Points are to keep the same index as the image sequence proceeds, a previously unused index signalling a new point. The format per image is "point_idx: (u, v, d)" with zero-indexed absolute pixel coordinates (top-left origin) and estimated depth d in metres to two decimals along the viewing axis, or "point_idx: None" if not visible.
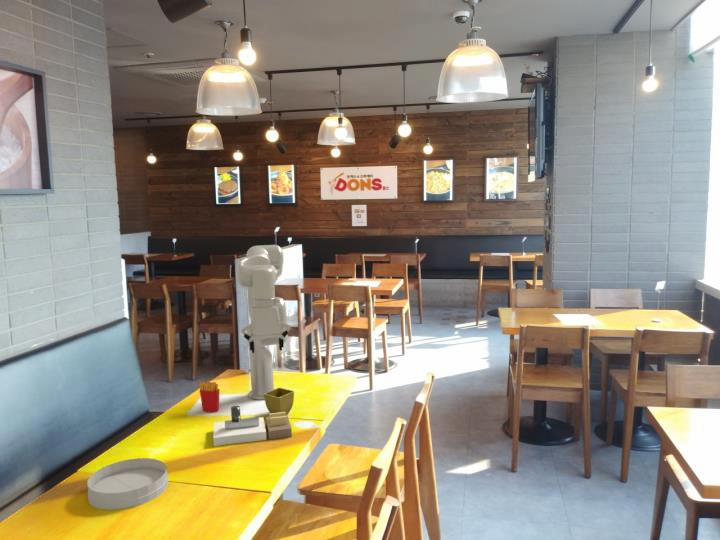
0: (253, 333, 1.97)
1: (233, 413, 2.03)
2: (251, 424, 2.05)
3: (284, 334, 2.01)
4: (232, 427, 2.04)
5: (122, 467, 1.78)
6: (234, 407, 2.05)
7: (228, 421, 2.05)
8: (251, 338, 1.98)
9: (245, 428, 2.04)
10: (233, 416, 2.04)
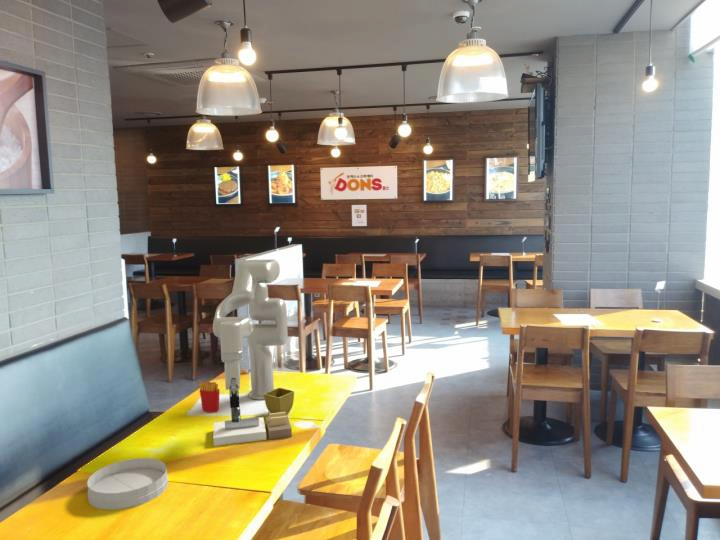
0: (239, 386, 1.99)
1: (233, 413, 2.03)
2: (251, 424, 2.05)
3: None
4: (232, 427, 2.04)
5: (122, 467, 1.78)
6: None
7: (228, 421, 2.05)
8: (238, 392, 1.99)
9: (245, 428, 2.04)
10: (233, 416, 2.04)
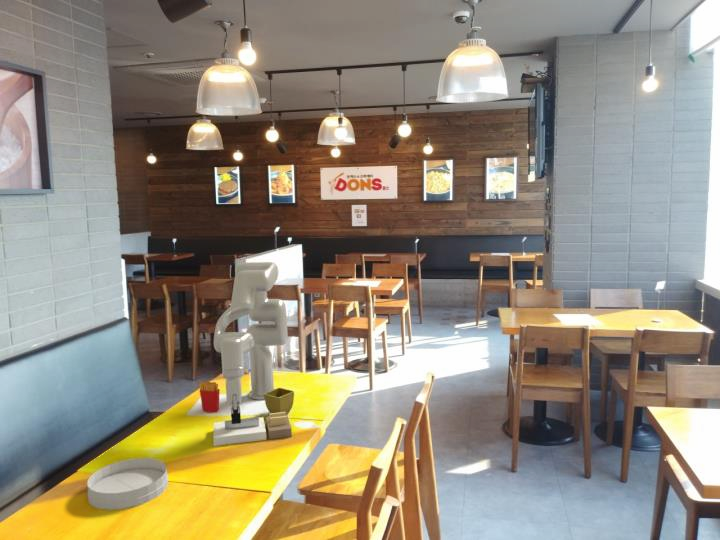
0: (240, 402, 2.00)
1: None
2: (251, 424, 2.05)
3: None
4: (232, 427, 2.04)
5: (122, 467, 1.78)
6: None
7: (228, 421, 2.05)
8: None
9: (245, 428, 2.04)
10: None
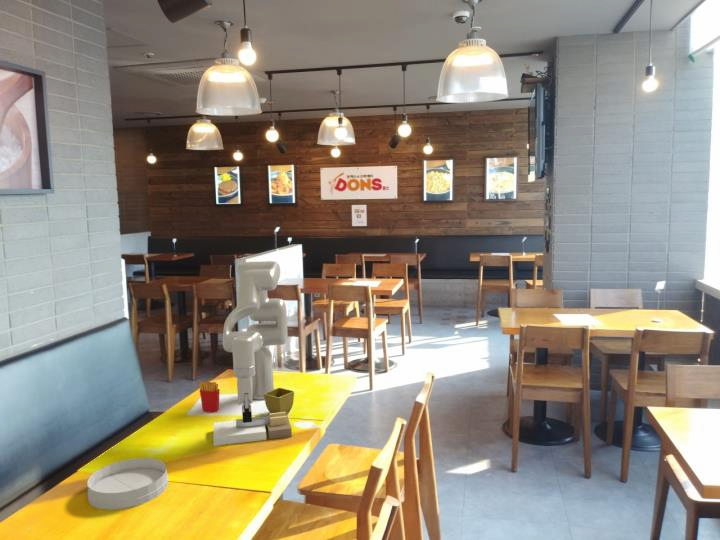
0: None
1: None
2: (262, 423, 2.06)
3: None
4: (244, 426, 2.05)
5: (122, 467, 1.78)
6: None
7: (239, 420, 2.06)
8: None
9: (245, 428, 2.04)
10: None
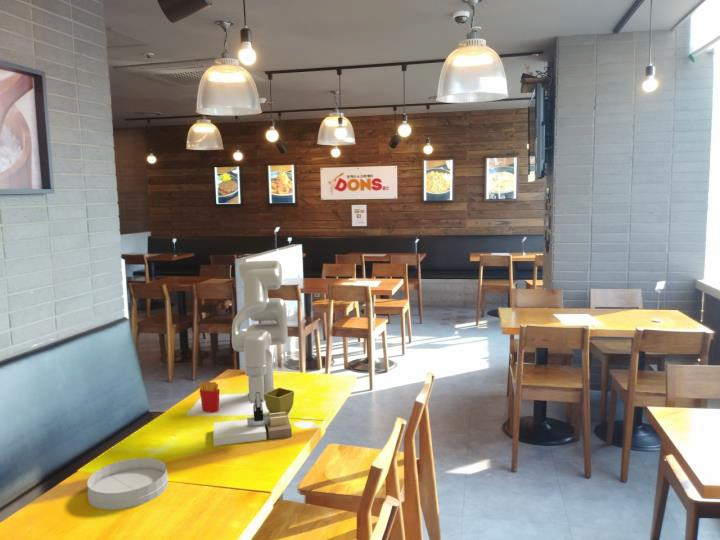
0: (263, 400, 2.02)
1: None
2: None
3: None
4: (255, 425, 2.06)
5: (122, 467, 1.78)
6: None
7: (250, 418, 2.07)
8: (261, 406, 2.05)
9: (245, 428, 2.04)
10: None
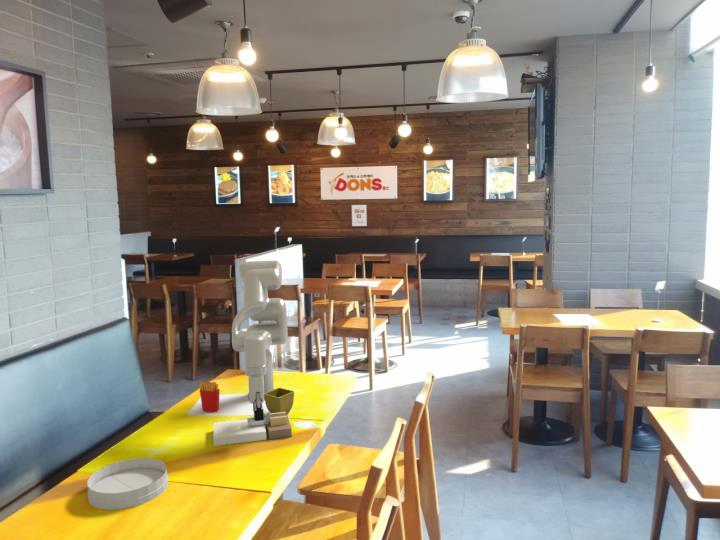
0: (263, 400, 2.02)
1: None
2: None
3: None
4: (255, 425, 2.06)
5: (122, 467, 1.78)
6: None
7: (251, 418, 2.07)
8: (262, 406, 2.02)
9: (245, 428, 2.04)
10: None
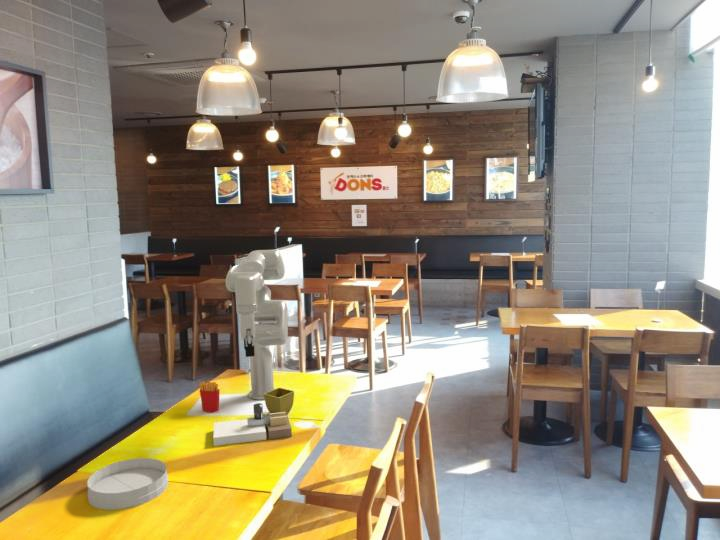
0: (254, 336, 2.11)
1: (256, 410, 2.05)
2: None
3: None
4: (255, 425, 2.06)
5: (122, 467, 1.78)
6: (257, 405, 2.06)
7: (251, 418, 2.07)
8: (252, 342, 2.10)
9: (245, 428, 2.04)
10: (256, 413, 2.05)
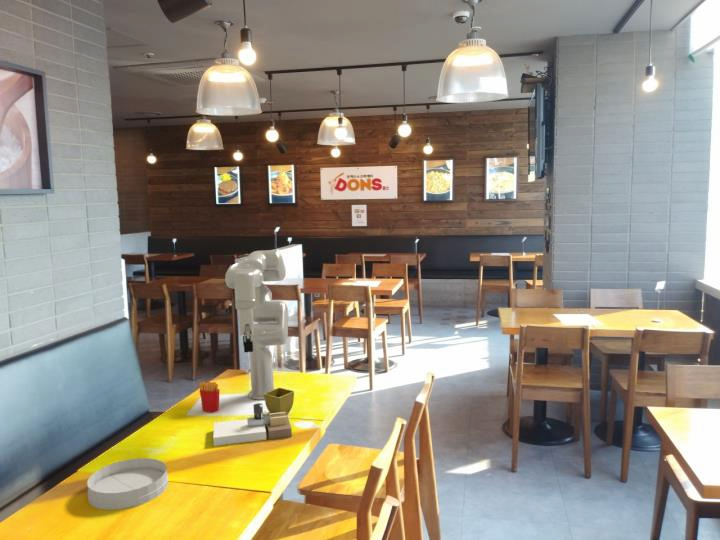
0: (252, 332, 2.12)
1: (256, 410, 2.05)
2: None
3: None
4: (255, 425, 2.06)
5: (122, 467, 1.78)
6: (257, 405, 2.06)
7: (251, 418, 2.07)
8: (251, 338, 2.11)
9: (245, 428, 2.04)
10: (256, 413, 2.05)
